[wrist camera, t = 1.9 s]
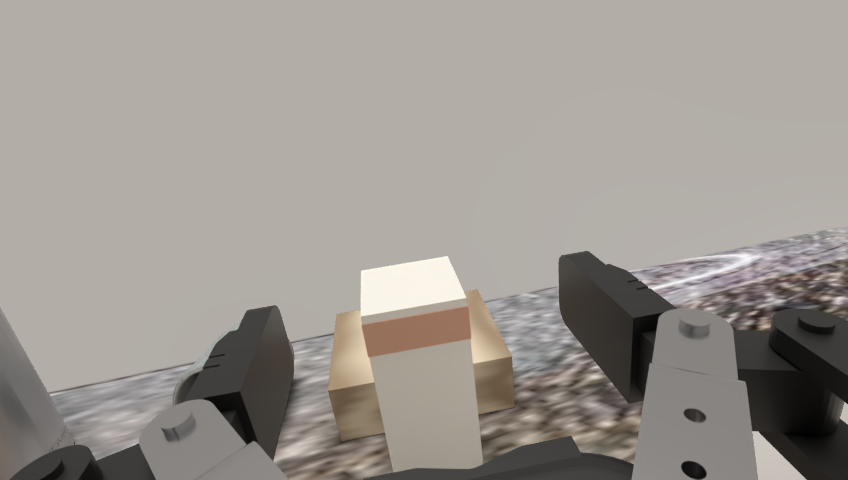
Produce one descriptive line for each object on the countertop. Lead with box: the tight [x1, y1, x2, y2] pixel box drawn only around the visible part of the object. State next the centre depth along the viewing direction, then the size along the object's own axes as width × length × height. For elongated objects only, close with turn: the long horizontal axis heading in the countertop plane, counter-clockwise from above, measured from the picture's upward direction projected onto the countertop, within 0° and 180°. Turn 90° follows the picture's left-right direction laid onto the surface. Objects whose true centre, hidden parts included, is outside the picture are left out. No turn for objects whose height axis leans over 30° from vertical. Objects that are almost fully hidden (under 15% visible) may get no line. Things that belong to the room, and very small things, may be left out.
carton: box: [361, 256, 483, 473], centre depth 28 cm, size 6×6×15 cm
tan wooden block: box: [328, 290, 515, 441], centre depth 39 cm, size 14×11×5 cm
